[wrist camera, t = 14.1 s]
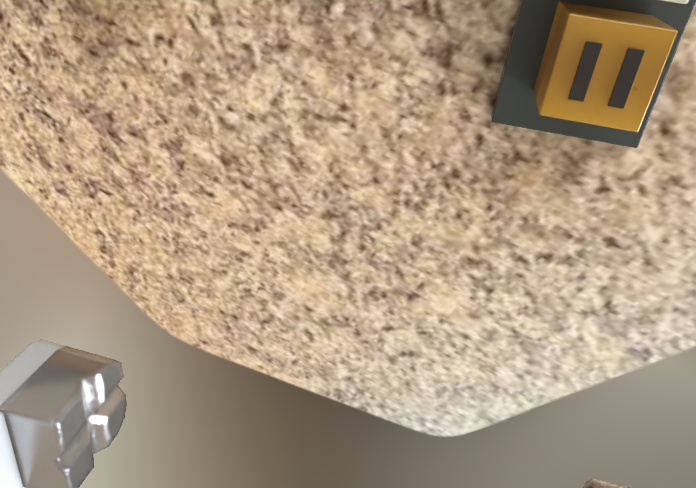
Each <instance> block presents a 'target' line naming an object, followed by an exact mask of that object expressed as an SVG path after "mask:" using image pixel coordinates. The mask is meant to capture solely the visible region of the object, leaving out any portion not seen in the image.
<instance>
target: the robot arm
mask: <svg viewBox="0 0 696 488" xmlns="http://www.w3.org/2000/svg"><path fill="white" fill-rule="evenodd" d="M122 378H123V370H122V365H121V362H119V361H117V360H113V359H110V358H107V357H103V356H100V355H96V354H92V353H89V352H85V351H82V350H78V349H75V348H71V347H67V346H62V345H59V344H55V343H52V342H48V341H44V340H39V341H36V342H33V343H31V344H30V345H29V346H27V348H25V349H24V350H23V351H22V352H21V353H20V354H19V355H18V356H17V357H15V358H14V359H13V360H12V361H11V362H10V363H9V364H8V365H7V366H6V367H5V368H3V369H2V370H1V371H0V488H23V487H25V488H79V487H80V485H81V484H82V483H83V481H84V480H85V478H86V477H87V476H88V474H89V473H90V472H91V470H92V469H93V468H94V457H93V454H95V453H97V452H99V451H101V450H102V449H105V448H106V447H108V446H109V445H110V444H111V442H112V441H113V440H114V438H115V437H116V435H117V434H118V432H119V430H120V427H121V425H122V422H123V420H124V418H125V411H126V405H127V404H126V395H125V393H124V392H123V391H122V390H121V388H120V387H119V386H118V383H119V382H120V380H121V379H122ZM583 488H628V487H624V486H620V485H616V484H612V483H607V482H603V481H599V480H594V479H590V480H589V481H587V482H586V483H585V485H584V487H583Z"/></svg>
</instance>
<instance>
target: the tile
mask: <svg viewBox="0 0 696 488" xmlns="http://www.w3.org/2000/svg"><path fill="white" fill-rule="evenodd" d="M662 1H669V2H675V3H682V4H687V3H688V2H689V0H662Z"/></svg>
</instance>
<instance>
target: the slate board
mask: <svg viewBox="0 0 696 488" xmlns="http://www.w3.org/2000/svg"><path fill="white" fill-rule="evenodd" d="M560 1H562V2H568V3H575V4H581V5H588V6H595V7H601V8H608V9H614V10H621V11H627V12H634V13H641V14H647V15H652V16H654V17H656V18H657V19H659V20H661V21H663V22H664V23H666V24H668V25H669V26H671V27H673V28H674V29H676V30H677V31H678V32H677V35H676V37H675V40H674V43H673V45H672V48H671V50H670V53H669V55H668V58H667V60H666V63H665V65H664V68H663V71H662V73H661V76H660V78H659V81H658V83H657V86H656V88H655V91H654V93H653V96H652V98H651V101H650V104H649V106H648V109H647V111H646V114H645V116H644V119H643V121H642V124H641V126H640V129H639V131H638V132H633V131H628V130H622V129H616V128H611V127H605V126H599V125H594V124H588V123H582V122H577V121H571V120H565V119H560V118H554V117H548V116H543V115H540V114H539V111H538V107H537V103H536V99H535V95H534V86H535V83H536V79H537V76H538V72H539V69H540V65H541V62H542V58H543V55H544V51H545V48H546V44H547V41H548V37H549V34H550V30H551V27H552V23H553V20H554V16H555V13H556V9H557V6H558V3H559V2H560ZM695 2H696V0H689V2H688V3H687V4H682V3H675V2H669V1H662V0H521V1H520V5H519V9H518V13H517V17H516V21H515V25H514V29H513V33H512V37H511V41H510V45H509V49H508V53H507V57H506V60H505V64H504V68H503V72H502V76H501V80H500V84H499V88H498V92H497V96H496V100H495V104H494V108H493V112H492V122H495V123H501V124H506V125H512V126H517V127H523V128H528V129H534V130H540V131H545V132H551V133H556V134H562V135H567V136H573V137H578V138H584V139H590V140H595V141H601V142H606V143H612V144H617V145H623V146H629V147H634V148H637V147H638V145H639V143H640V140H641V138H642V135H643V133H644V130H645V128H646V125H647V123H648V120H649V117H650V115H651V112H652V110H653V107H654V105H655V102H656V100H657V97H658V95H659V92H660V90H661V87H662V85H663V82H664V80H665V77H666V75H667V72H668V70H669V67H670V65H671V62H672V60H673V57H674V55H675V52H676V50H677V47H678V45H679V42H680V40H681V37H682V35H683V32H684V30H685V27H686V25H687V22H688V20H689V17H690V15H691V12H692V10H693V7H694V5H695Z"/></svg>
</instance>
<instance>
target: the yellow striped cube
mask: <svg viewBox="0 0 696 488" xmlns="http://www.w3.org/2000/svg"><path fill="white" fill-rule="evenodd" d="M677 32H678V31H677V30H676V29H674V28H673V27H671V26H669V25H668V24H666V23H664V22H663V21H661V20H659V19H657V18H656V17H654V16H652V15H647V14H641V13H634V12H627V11H621V10H614V9H608V8H601V7H595V6H588V5H581V4H575V3H568V2H562V1H560V2H559V3H558V6H557V9H556V13H555V16H554V20H553V23H552V27H551V30H550V34H549V37H548V41H547V44H546V48H545V51H544V55H543V58H542V62H541V65H540V69H539V72H538V76H537V79H536V83H535V86H534V95H535V99H536V103H537V107H538V111H539V114H540V115H543V116H548V117H554V118H560V119H565V120H571V121H577V122H582V123H588V124H594V125H599V126H605V127H611V128H616V129H622V130H628V131H633V132H638V131H639V129H640V126H641V124H642V121H643V119H644V116H645V114H646V111H647V109H648V106H649V104H650V101H651V98H652V96H653V93H654V91H655V88H656V86H657V83H658V81H659V78H660V76H661V73H662V71H663V68H664V65H665V63H666V60H667V58H668V55H669V53H670V50H671V48H672V45H673V43H674V40H675V37H676V35H677Z"/></svg>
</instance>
